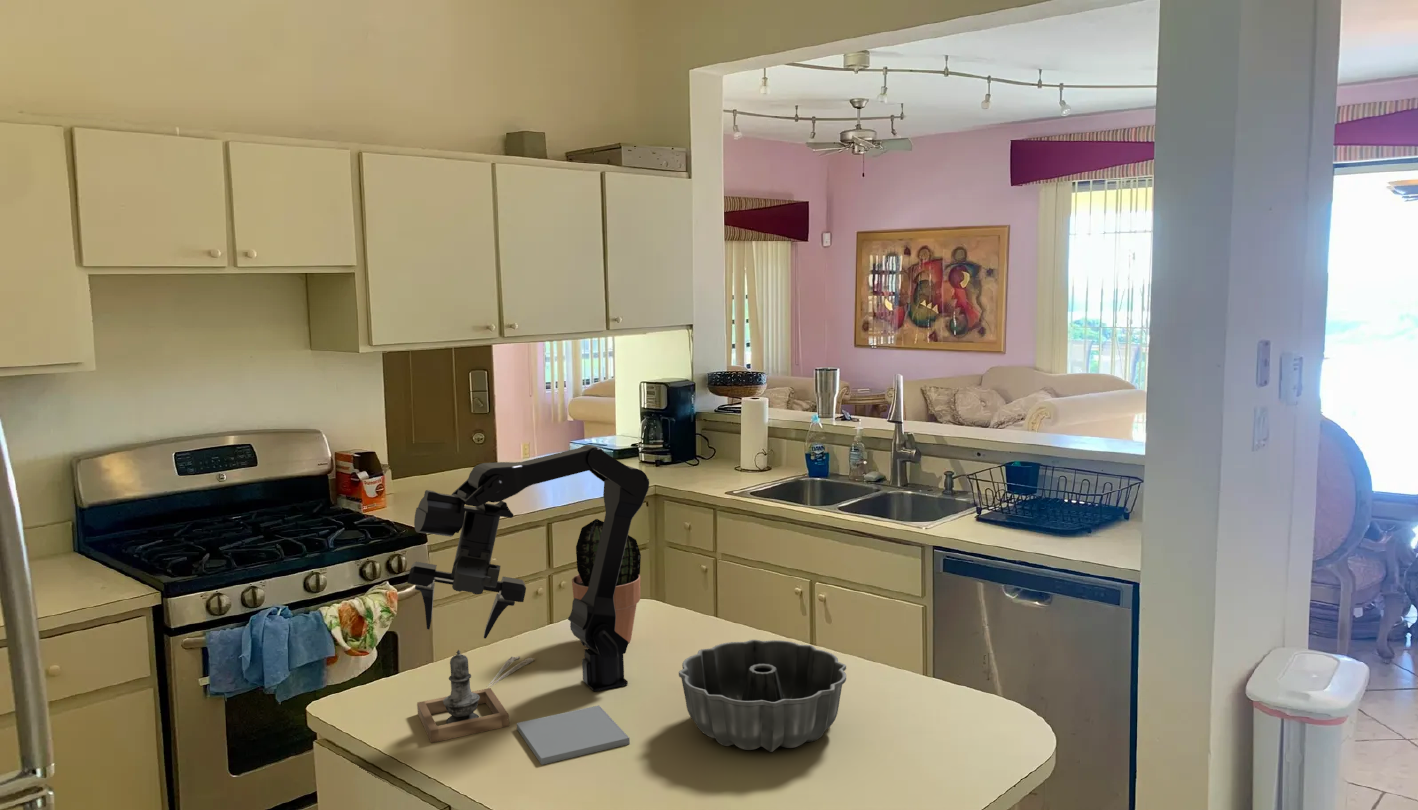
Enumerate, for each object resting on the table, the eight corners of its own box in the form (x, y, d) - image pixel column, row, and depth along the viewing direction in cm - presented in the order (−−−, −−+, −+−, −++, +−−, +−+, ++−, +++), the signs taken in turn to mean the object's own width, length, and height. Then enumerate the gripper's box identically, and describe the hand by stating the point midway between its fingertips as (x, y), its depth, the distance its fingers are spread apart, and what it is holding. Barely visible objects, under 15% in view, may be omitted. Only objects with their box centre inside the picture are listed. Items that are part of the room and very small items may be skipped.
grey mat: (599, 710, 166) (599, 705, 166) (629, 743, 154) (629, 737, 154) (516, 729, 160) (516, 723, 160) (541, 764, 148) (541, 758, 148)
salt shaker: (471, 728, 161) (467, 657, 160) (438, 726, 162) (433, 655, 161) (486, 713, 167) (482, 644, 166) (454, 711, 168) (449, 642, 167)
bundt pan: (862, 703, 166) (861, 645, 165) (828, 777, 142) (827, 709, 141) (712, 687, 175) (710, 632, 174) (656, 754, 150) (653, 691, 149)
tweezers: (513, 660, 192) (513, 650, 192) (536, 663, 191) (535, 653, 191) (467, 702, 176) (466, 691, 176) (491, 705, 175) (490, 694, 174)
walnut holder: (491, 698, 173) (490, 687, 173) (509, 725, 162) (508, 714, 162) (417, 713, 168) (417, 702, 167) (431, 742, 156) (430, 730, 156)
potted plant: (614, 658, 190) (608, 530, 188) (560, 646, 198) (554, 523, 195) (656, 636, 202) (651, 515, 199) (603, 626, 209) (598, 509, 206)
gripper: (416, 536, 154) (394, 636, 154) (536, 558, 158) (514, 654, 158) (420, 527, 165) (399, 620, 164) (532, 547, 169) (512, 637, 169)
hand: (456, 633), depth 163 cm, fingers open, 9 cm apart
